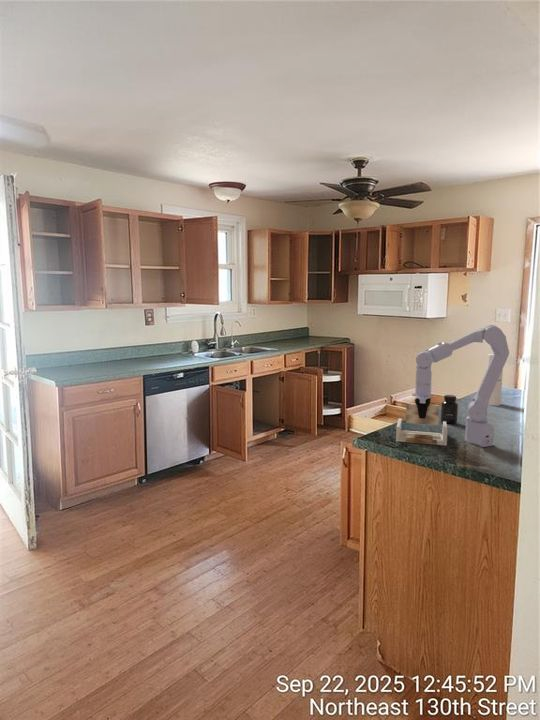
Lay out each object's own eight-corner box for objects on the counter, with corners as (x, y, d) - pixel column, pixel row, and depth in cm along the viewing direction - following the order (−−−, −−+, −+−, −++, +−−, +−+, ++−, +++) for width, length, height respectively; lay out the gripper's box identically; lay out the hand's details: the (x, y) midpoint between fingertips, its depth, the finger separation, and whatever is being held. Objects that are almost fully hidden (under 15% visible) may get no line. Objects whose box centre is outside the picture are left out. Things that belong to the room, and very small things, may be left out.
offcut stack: (436, 441, 179) (436, 435, 178) (436, 444, 176) (437, 438, 175) (406, 439, 182) (406, 433, 182) (405, 441, 179) (405, 435, 179)
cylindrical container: (481, 403, 242) (484, 354, 238) (491, 401, 245) (494, 353, 241) (493, 406, 235) (496, 355, 232) (503, 404, 238) (506, 354, 235)
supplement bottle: (446, 425, 202) (448, 398, 200) (437, 421, 209) (438, 394, 207) (460, 424, 204) (462, 397, 202) (450, 420, 210) (451, 393, 209)
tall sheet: (438, 424, 184) (439, 405, 183) (438, 425, 183) (439, 406, 182) (405, 421, 188) (406, 403, 187) (405, 422, 186) (406, 404, 185)
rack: (445, 436, 188) (446, 421, 187) (446, 447, 174) (447, 431, 174) (398, 432, 193) (398, 418, 192) (395, 442, 180) (396, 427, 179)
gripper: (413, 379, 191) (412, 412, 193) (411, 386, 178) (410, 421, 179) (431, 380, 189) (430, 413, 191) (431, 387, 175) (430, 423, 177)
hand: (422, 417), depth 185 cm, fingers closed on tall sheet, 2 cm apart
